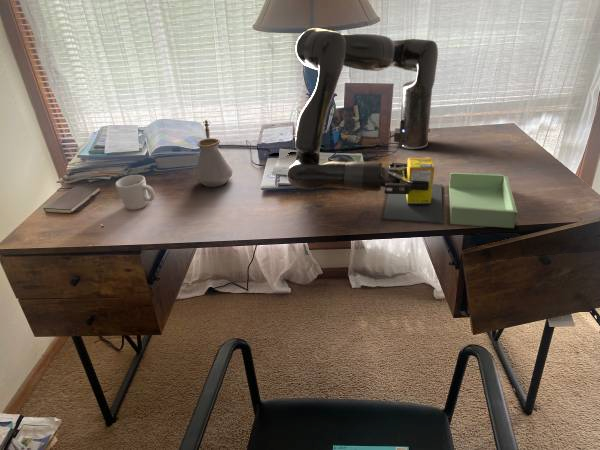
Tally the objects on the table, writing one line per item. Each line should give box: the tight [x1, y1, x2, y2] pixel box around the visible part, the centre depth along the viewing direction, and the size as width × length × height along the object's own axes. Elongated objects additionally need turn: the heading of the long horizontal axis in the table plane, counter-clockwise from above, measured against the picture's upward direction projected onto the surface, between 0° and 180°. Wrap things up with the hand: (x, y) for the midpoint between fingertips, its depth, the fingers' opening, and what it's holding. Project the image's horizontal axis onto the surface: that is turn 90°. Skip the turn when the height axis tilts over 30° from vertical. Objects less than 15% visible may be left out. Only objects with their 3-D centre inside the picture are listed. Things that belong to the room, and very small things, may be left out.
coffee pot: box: [194, 119, 234, 188], centre depth 136 cm, size 21×12×15 cm, turn 11°
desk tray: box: [448, 172, 518, 229], centre depth 110 cm, size 14×20×4 cm
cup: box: [114, 174, 156, 211], centre depth 123 cm, size 11×8×8 cm
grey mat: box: [382, 184, 443, 224], centre depth 115 cm, size 14×20×1 cm
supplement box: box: [406, 157, 435, 206], centre depth 112 cm, size 6×6×11 cm
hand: (428, 179), depth 111 cm, fingers closed on supplement box, 6 cm apart
